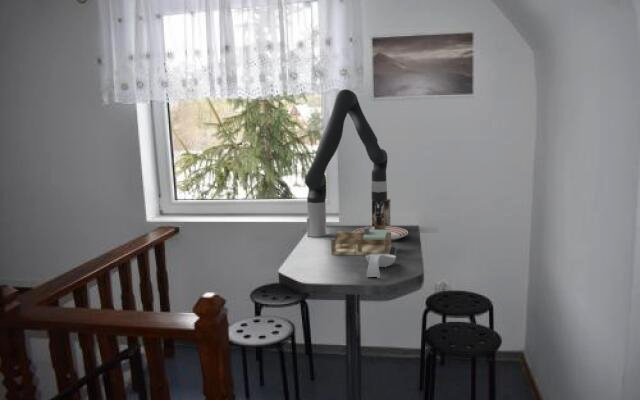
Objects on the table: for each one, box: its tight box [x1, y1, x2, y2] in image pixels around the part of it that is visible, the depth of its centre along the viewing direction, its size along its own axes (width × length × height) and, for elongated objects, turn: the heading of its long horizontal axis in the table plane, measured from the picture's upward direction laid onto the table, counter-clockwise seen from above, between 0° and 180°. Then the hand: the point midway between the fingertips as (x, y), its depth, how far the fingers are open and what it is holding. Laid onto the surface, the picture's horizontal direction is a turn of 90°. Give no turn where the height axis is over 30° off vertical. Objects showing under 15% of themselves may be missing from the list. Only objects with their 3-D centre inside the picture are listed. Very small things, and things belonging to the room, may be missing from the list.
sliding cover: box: [363, 225, 388, 240], centre depth 213 cm, size 9×16×4 cm, turn 168°
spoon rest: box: [365, 253, 397, 279], centre depth 187 cm, size 24×12×7 cm, turn 165°
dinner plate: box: [352, 226, 409, 242], centre depth 243 cm, size 27×27×3 cm
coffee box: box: [371, 198, 391, 227], centre depth 262 cm, size 9×6×16 cm
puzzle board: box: [330, 231, 392, 256], centre depth 215 cm, size 24×16×7 cm
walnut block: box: [374, 219, 386, 230], centre depth 243 cm, size 5×5×6 cm
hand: (379, 223), depth 243 cm, fingers open, 8 cm apart
